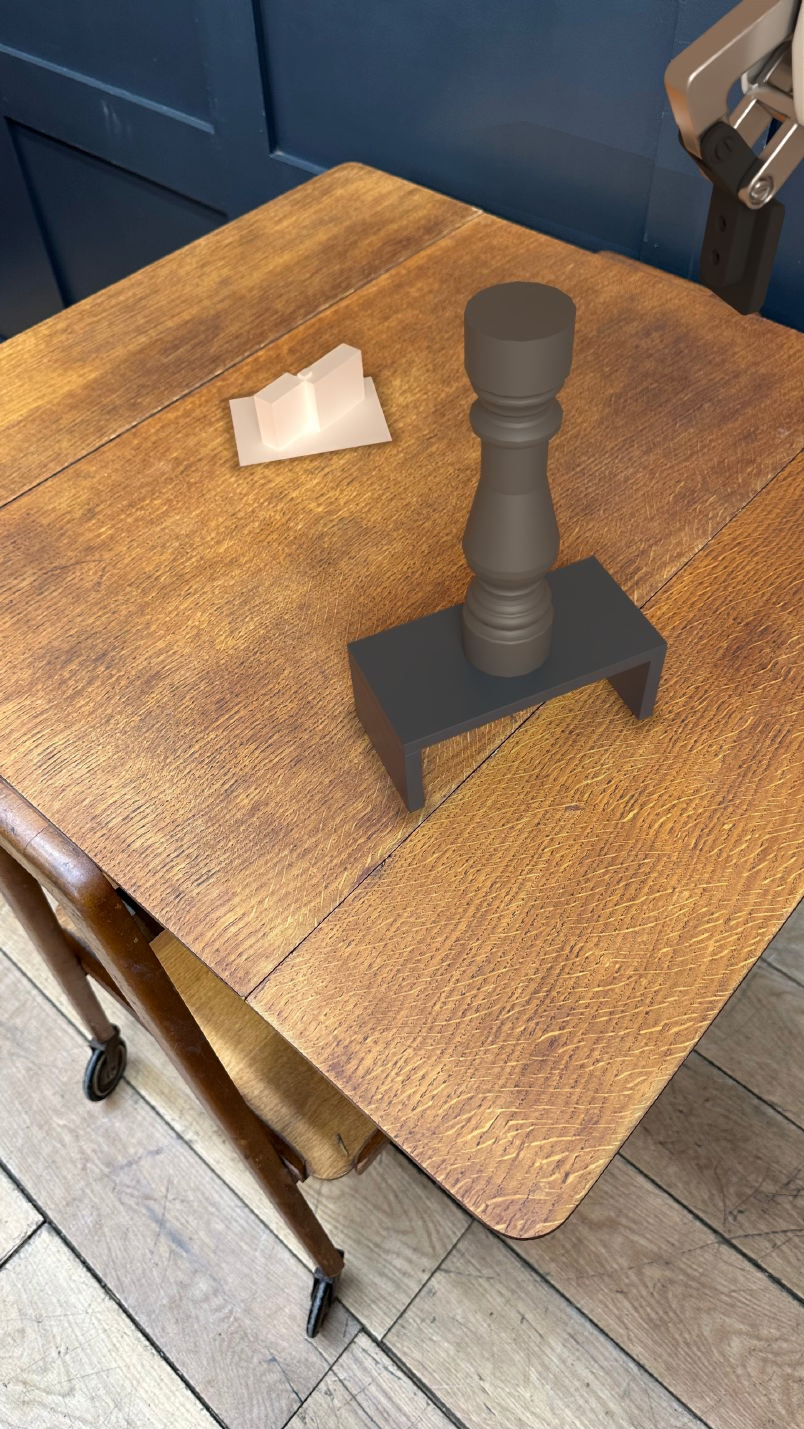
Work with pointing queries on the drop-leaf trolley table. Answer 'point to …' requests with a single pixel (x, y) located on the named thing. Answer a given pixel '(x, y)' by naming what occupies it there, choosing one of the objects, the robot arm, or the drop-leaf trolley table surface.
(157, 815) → the drop-leaf trolley table surface
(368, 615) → the drop-leaf trolley table surface
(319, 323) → the drop-leaf trolley table surface
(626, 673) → the shelf
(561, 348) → the candle holder
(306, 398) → the napkin holder
